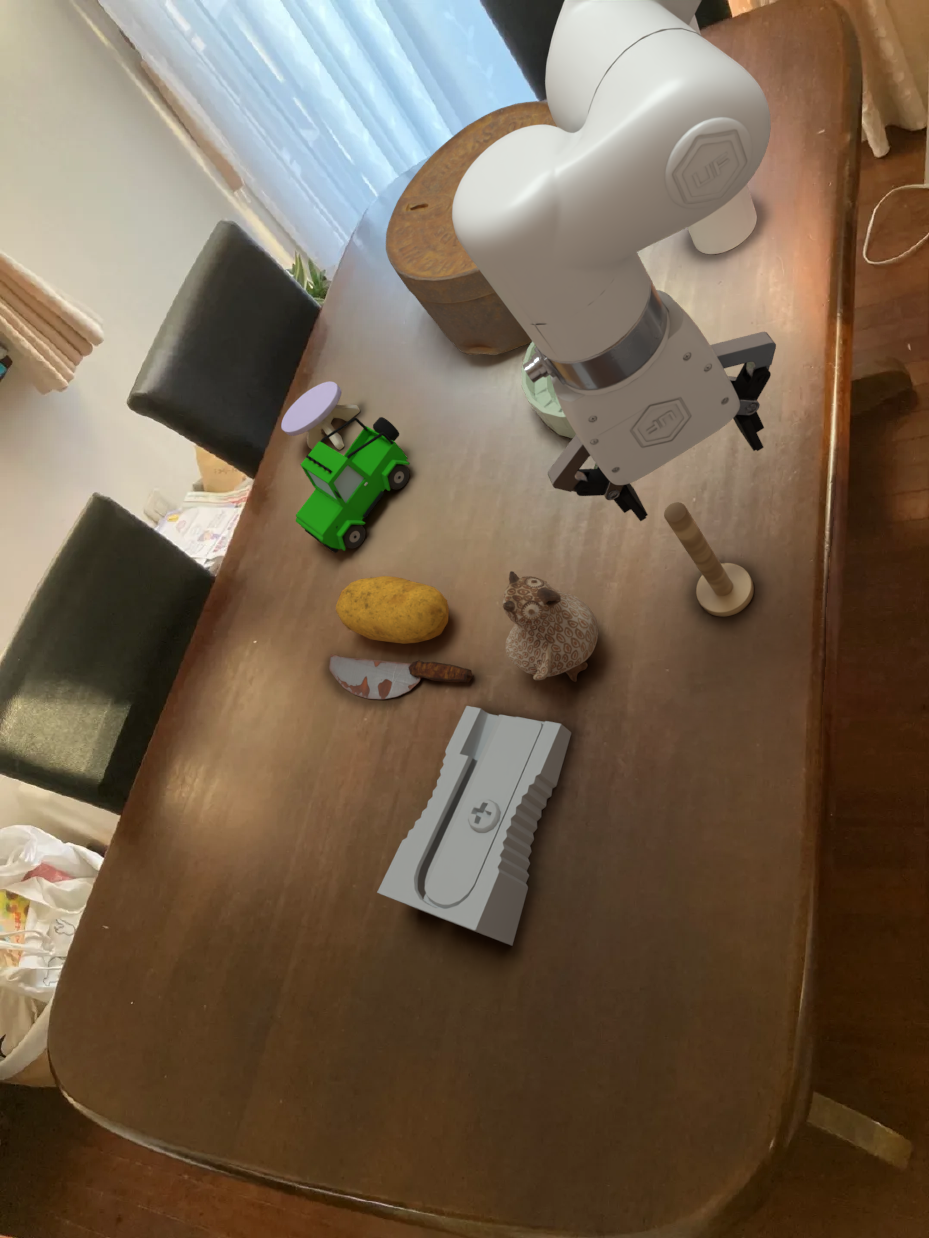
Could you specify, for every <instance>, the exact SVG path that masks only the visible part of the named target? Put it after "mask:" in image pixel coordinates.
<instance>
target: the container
mask: <svg viewBox="0 0 929 1238" xmlns="http://www.w3.org/2000/svg"><path fill="white" fill-rule="evenodd" d="M533 125H551V126H555V127H557V125H556V124H555V122H554V120H553V118H552V115H551V112H550V109H549V106H548V102H547V101H545V100H533V101H524V102H518V103H513V104H510V105H507V106H504V107H501V108H497V109H495V110H493V111H491V112H489V113H487V114H485V115H483V116H481V117H479V118H478V119H476V120H474V121H472V122H470V123H469V124H467V125H466V126H465V127H463V128H462V129H460V130H459V131H458V132H457V133H455V134H454V135H453V136H452V137H451V138H449V139H448V140H447V141H446V142H445V143H444V144H442V145H441V146H440V147H439V148H438V149H436V151H434V152H433V153H432V155H431V156H429V158H428V159H427V160H426V161H425V162H424V164H423V165H422V166H421V167H420V168H419V169H418V171H417V172H416V173H415V174H414V175H413V177H412V179H411V180H410V181H408V184H407V185H406V186H405V188H404V190H403V191H402V192H401V195H400V196H399V198H398V200H397V201H396V204H395V206H394V208H393V211H392V213H391V215H390V218H389V221H388V224H387V228H386V231H385V232H386V233H385V252H386V256H387V260H388V261H389V264H390V265H391V267H392V268H393V270H394V271H395V273H396V274H397V275H398V277H399V278H400V280H401V281H402V283H403V284H404V286H405V287H406V289H407V290H408V291H409V292H410V294H412V295H413V296H414V297H415V299H416V300H417V301H418V302H419V304H420V305H421V306H422V308H423V309H424V310H425V312H426V313H427V314H428V315H429V316H430V318H431V319H432V321H433V322H434V324H436V325H437V326H438V328H439V329H440V330H441V331H442V333H443V334H444V335H445V336H446V337H447V338H448V340H450V342H451V343H452V344H453V345H454V346H455V347H456V348H457V349H458V350H459V351H460V352H462V353H463V354H466V355H469V356H477V355H482V354H483V355H490V356H494V355H495V356H496V355H501V354H504V353H507V352H511V351H512V350H515V349H518V348H520V347H523V346H526V345H528V344H531V342H532V340H531V339H530V337H529V336H528V334H527V333H526V332H525V330H524V329H523V328H522V326H521V325H520V324H519V322H518V321H517V320H516V318H515V317H514V316H513V315H512V313H511V312H510V310H509V309H508V308H507V306H506V305H505V304H504V302H503V301H502V300H501V298H500V297H499V296H498V294H497V293H496V292H495V290H494V289H493V288H492V286H491V285H490V284H489V282H488V281H487V280H486V278H485V277H484V275H483V274H482V273H481V271H480V270H479V269H478V267H477V266H476V265H475V263H474V262H473V261H472V259H471V258H470V257H469V255H468V254H467V252H466V251H465V249H464V248H463V246H462V245H461V243H460V242H459V240H458V238H457V235H456V233H455V229H454V225H453V220H452V208H453V201H454V197H455V194H456V191H457V189H458V186H459V184H460V182H461V180H462V178H463V176H464V175H465V173H466V172H467V170H468V169H469V167H470V166H471V165H472V163H473V162H474V161H475V160H476V159H477V158H478V157H479V156H480V155H481V154H482V153H483V152H484V151H485V150H486V149H487V148H488V147H489V146H491V145H492V144H493V143H495V142H496V141H497V140H499V139H501V138H502V137H504V136H505V135H507V134H509V133H511V132H513V131H515V130H518V129H521V128H524V127H528V126H533Z"/></svg>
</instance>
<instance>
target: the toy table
mask: <svg viewBox="0 0 929 1238" xmlns="http://www.w3.org/2000/svg"><path fill="white" fill-rule="evenodd" d="M341 396H342V389H341V387H340V386H339V385H338V383H336V382H334V381H325V382H321V383H319V384H317V385H315V386H313V387H311V388H309V389H308V390H307V391H305V392H304V393H303V394H302V395H300V397H299V398H297V400H295V402H293V403H292V404H291V405H290V407H289V408H288V409H287V410H286V412H285V414H284V415H283V418H282V420H281V424H280V425H281V427H280V428H281V430H282V431H283V432H284V433H285V434H287V435H288V436H291V437H294V436H295V437H296V436H299V435H302V434H304V433H307V434H306V444H307V446H308V448H309V449H311V450H313V448H314V447H315V446H316V444H317V443H318V442H319V441H321V440H322V438H324V437H325V435H324V434H323V432H324V433H325V434H326V436H327V435H328V434H330V433H331V432H333V431H334V430H336V429H335V427H334V426H333V425H332V424H331V423H332V421H333V420H334V419H341V420H343V421H345V422H348V421H350V420H351V419H353V418H355V416H357V415H358V414H359V413H360V412H361V410H360V408H359V406H358V405H357V404H353V403H346V404H338V403H339V401H340V399H341ZM322 430H323V432H322ZM328 439H329V440H330V442H331V443H332V444H333V445H334V447H335V448H336V450H339V451H340V450H342V449H343V448H344V447H345V444H344V441H343V439H342V436H341V435H340V434H339V433H338V432H337V433H335V434H334V435H332V436H331V437H329V438H328Z"/></svg>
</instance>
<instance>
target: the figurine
mask: <svg viewBox="0 0 929 1238" xmlns="http://www.w3.org/2000/svg"><path fill="white" fill-rule="evenodd" d="M502 608H503V611H504V613H505V615H506V616H507V618H509V620H510V621H511V622H512V623H513V624H514V625H513V626H512V629H511V630H510V631H509V633H508V635H507V637H506V640H505V644H504V645H505V652H506V655H507V657H508V659H509V660H510V661H511V662H512V664H513V665H514V666H516V668H519V669H520V670H521V671H523V672H525V673H527V674H530V675H532V678H533V680H535V681H542V680H546V678H547V677H554V676H557V675H561V674H563V673H565V674H567V675H568V677H569V679H570V680H571V681H572V682H574V683H576V682H577V680H578V679H577V678H578V674H579V673H580V672H583V671H584V670H586V669H587V668H588V665H589V664H588V663H587V662H586V661H587V660H588V659H589V658H590V657H591V655H592V654H593V652H594V650H595V648H596V646H597V642H598V637H599V623H598V620H597V618H596V616H595V614H594V612H593V611H592V610H591V608H590V607H589V606H588V605H587V603H585V602H584V601H583V600H581V599H580V598H579V597H578V596H576V595H574V594H571V593H568V592H564V591H561V590H559V589H556V588H553V586H552V587H551V584H550V583H549V582H548V581H546V580H544V579H542V578H540V577H536V576H529V575H528V576H526V575H525V576H520V577H519V575H517V574H516V572H515V571H513V570H511V571H509V575H508V585H507V586H506V588H505V590H504V592H503V596H502Z"/></svg>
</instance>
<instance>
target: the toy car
mask: <svg viewBox="0 0 929 1238" xmlns="http://www.w3.org/2000/svg"><path fill="white" fill-rule="evenodd" d="M353 422H356V423H357V424H358V425H360V426H361V427H362V428H363V429H362V430H361V431H360V432H359V433H358V436H356V438H355V440H354V441H353V442H352V444H351V445H350V446H349V448H348V449H346V452H345V453H344V454H342V453H341V452H338V451H337V450H335V449H334V448H332V447H330V446H329V445H328V444H325V443H324V442H325V441H326V440H327V439H330V438H329V437H331V436H332V435H334V434H335V433H338V432H340V431H342V430H343V429H344V428H346V427H348V426H349V425H350V424H352V423H353ZM399 436H400V432H399V430H398V429H397V427H396V426H394V424H393V423H392V422H390V421H389V420H388V419H387V418H385V417H383V416H379V417H378V419H377V420H376V421H375V422H373V424H372V428H371V427H369V426H367V425H365V424H364V423H363V422H362V421H361V420H360V419H358V418H357V416H356V417H355V416H354V417H353V418H351V419H350V420H349V421H346V422H345V423H344V424H342V425H340V426H339V427H338V428H336V429H335V430H334V431H333V432H331V433H330V434H328V435H327V434H326V435H324V438H322V440H321V441H319V442H318V443H317V444H316V446H315V447H314V448H313V449H311V451H310V452H309V453H308V454H307V455H306V456H305V458H304V460H303V461H302V462H301V463H300V467H301V468H302V470H303V472H304V474H305V476H306V477H307V478H308V480H309V482H310V484H311V485H312V486H313V488H314V490H313V492H312V493H311V494H310V496H309V497H308V498H307V499H306V501H305V502H304V503H303V504H302V506H301V507H300V509H299V510H298V511H297V513H295V517H296V518H295V522H296V523H297V524H298V525H299V526H300V527H301V528H302V529H303V530H304V532H305V533H307V534H308V535H310V536H311V537H312V538H313V539H315V540H316V541H317V542H319V543H320V544H322V545H323V546H324V547H326V549H328V550H329V551H331V552H333V553H334V554H336V553H338V551H339V550H342V551H344V552H345V551H346V548H347V549H355V548H358V547H359V546H361V545H362V544H363V542H364V541H365V538H366V528H365V527H364V525H365V524H366V522H365V521H363V520H364V519H366V518H367V517H368V516H369V515H370V513H371V512H372V510H373V509H374V508H375V507H376V505H377V504H378V503H379V501H380V500H381V498H382V497H383V496H384V494H385V492H384V491H385V490H387V491H389V492H390V491H391V489H393V490H400V489H402V488H404V486H406V485H407V483H408V481H409V479H410V470H409V468H408V466H409V465H410V462H409V461H407V460H408V459H409V458H408V456H407V455H406V454H405V452H404V451H403V449H402V448H401V447H400V446H399V445H398V444H397V442H396V440H397V439H398V438H399Z"/></svg>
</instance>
